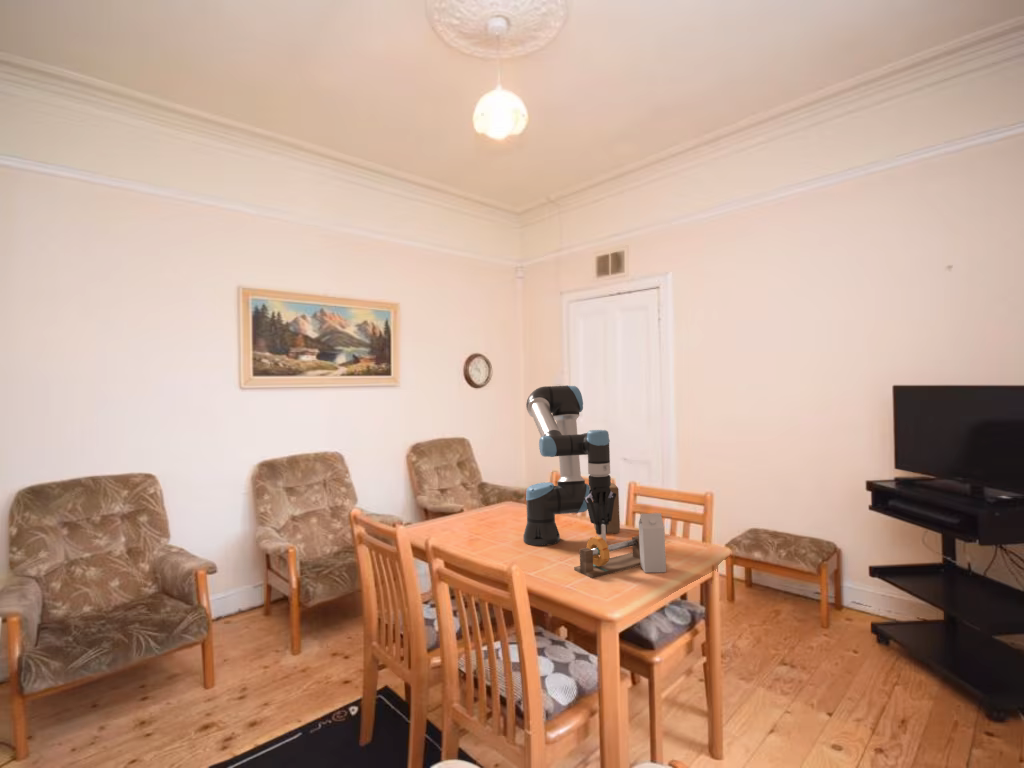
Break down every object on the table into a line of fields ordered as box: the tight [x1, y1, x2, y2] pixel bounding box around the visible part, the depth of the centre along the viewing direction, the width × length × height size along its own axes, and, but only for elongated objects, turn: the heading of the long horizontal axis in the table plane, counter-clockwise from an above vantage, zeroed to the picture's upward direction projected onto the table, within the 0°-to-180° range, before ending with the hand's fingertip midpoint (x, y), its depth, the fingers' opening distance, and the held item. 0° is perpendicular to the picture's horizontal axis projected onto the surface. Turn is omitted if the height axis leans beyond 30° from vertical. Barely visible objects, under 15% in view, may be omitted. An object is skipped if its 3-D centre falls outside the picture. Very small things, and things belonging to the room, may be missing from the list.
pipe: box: [591, 539, 638, 556], centre depth 180 cm, size 3×24×3 cm, turn 121°
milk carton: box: [638, 512, 667, 574], centre depth 175 cm, size 7×7×19 cm
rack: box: [573, 535, 641, 579], centre depth 180 cm, size 10×27×8 cm, turn 120°
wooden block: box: [593, 482, 621, 535], centre depth 225 cm, size 10×10×20 cm
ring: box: [586, 535, 611, 566], centre depth 176 cm, size 9×2×9 cm, turn 30°
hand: (601, 543), depth 177 cm, fingers closed
